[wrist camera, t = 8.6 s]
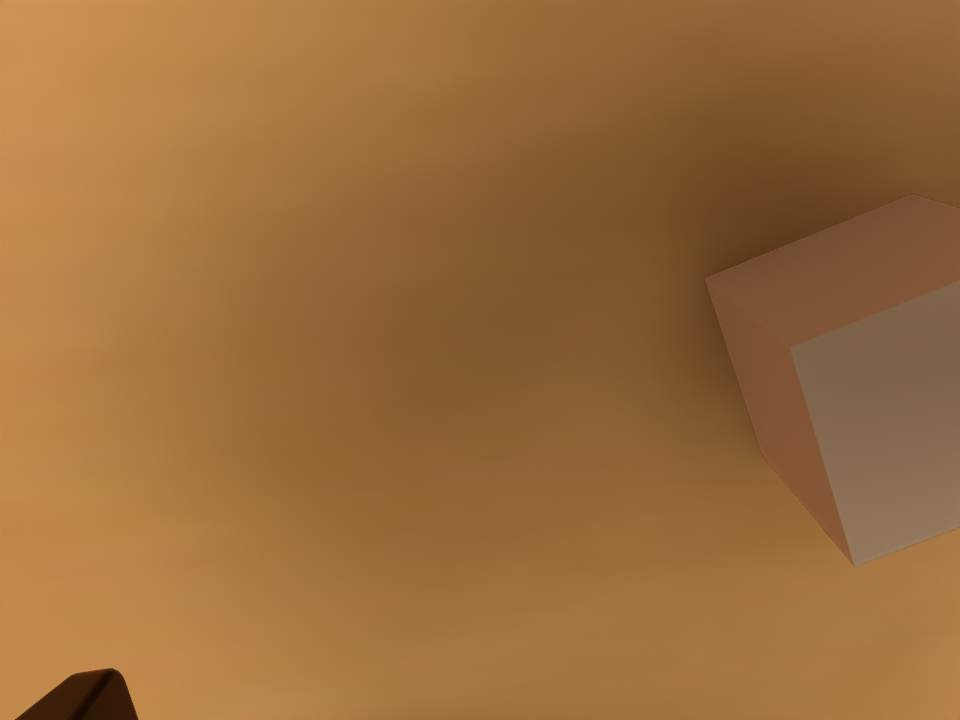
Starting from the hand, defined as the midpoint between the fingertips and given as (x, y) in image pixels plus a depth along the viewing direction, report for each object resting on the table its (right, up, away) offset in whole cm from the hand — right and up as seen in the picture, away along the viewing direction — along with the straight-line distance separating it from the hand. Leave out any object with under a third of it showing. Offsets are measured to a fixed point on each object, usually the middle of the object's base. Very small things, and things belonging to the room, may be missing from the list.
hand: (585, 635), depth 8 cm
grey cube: (+7, +3, +12) cm, 15 cm away
